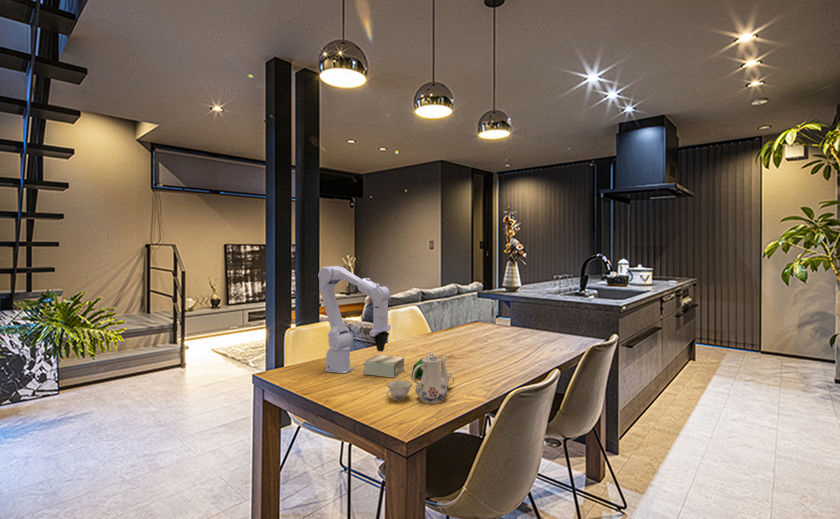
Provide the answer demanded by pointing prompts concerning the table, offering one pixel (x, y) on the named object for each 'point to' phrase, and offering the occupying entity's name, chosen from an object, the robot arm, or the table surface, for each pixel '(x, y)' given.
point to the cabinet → (389, 362)
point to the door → (379, 369)
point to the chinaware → (425, 382)
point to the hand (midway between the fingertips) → (380, 351)
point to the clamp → (419, 370)
